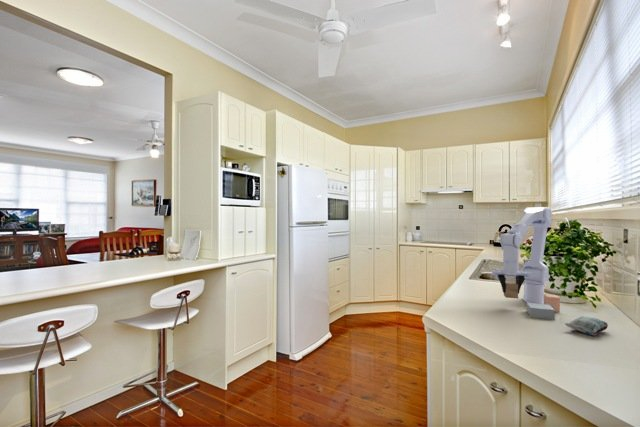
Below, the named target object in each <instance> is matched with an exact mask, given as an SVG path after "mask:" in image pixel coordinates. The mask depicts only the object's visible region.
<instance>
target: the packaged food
mask: <svg viewBox="0 0 640 427" xmlns="http://www.w3.org/2000/svg"><path fill="white" fill-rule="evenodd" d="M564 325H565V326H566V327H568V328H570V329H571V330H573V331H574V330H575V331H578V332H580V333H583V334H586V335H589V336H596V335H598V334H599V333H601V332H603V331H606V330H607V329H608V326H609V324H608V322H606V321H604V320H602V319H599V318H596V317H590V316H579V317H577V318H574V319H573V320H571V321H569V322H568V323H567V322H566V323H564Z"/></svg>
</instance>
